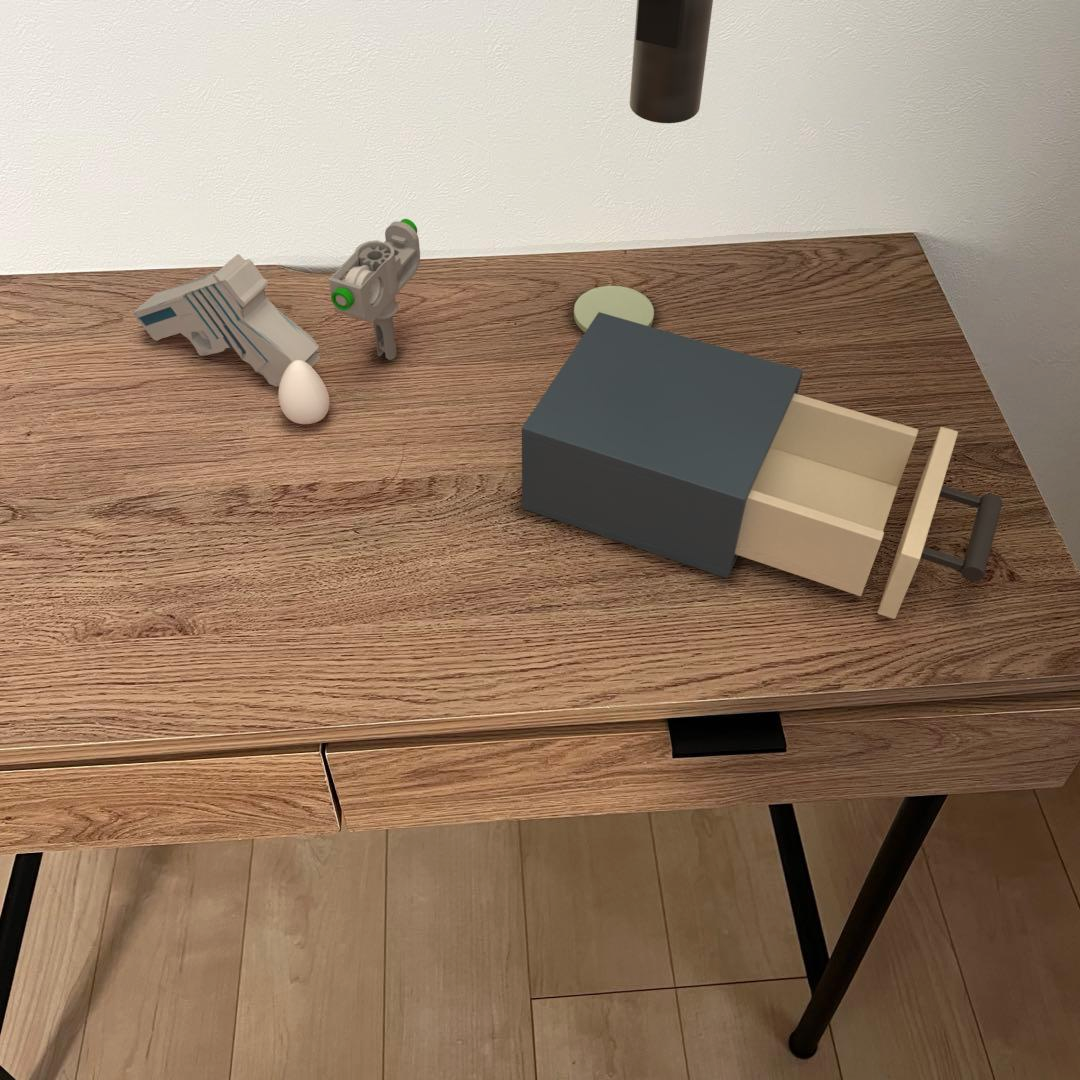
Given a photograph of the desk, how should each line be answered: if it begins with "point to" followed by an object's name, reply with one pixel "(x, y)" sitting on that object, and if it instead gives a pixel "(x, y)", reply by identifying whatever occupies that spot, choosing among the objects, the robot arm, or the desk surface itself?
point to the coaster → (613, 306)
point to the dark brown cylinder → (672, 69)
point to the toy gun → (230, 319)
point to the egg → (303, 394)
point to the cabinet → (654, 440)
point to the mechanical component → (378, 281)
